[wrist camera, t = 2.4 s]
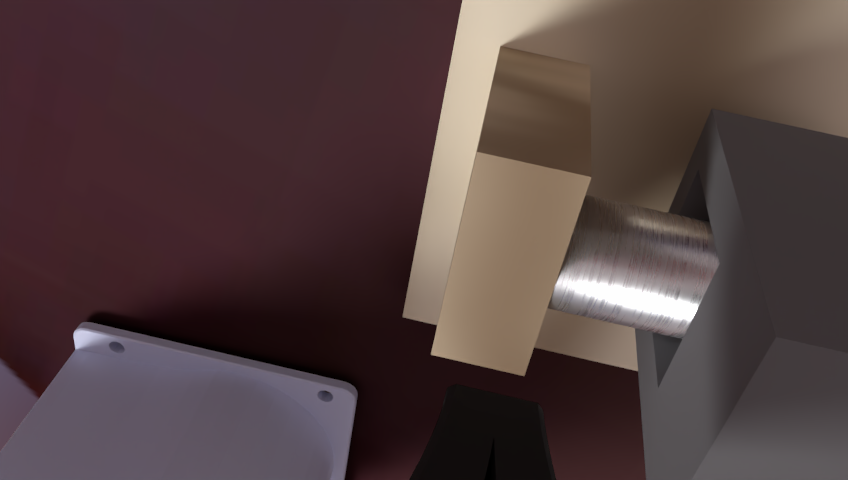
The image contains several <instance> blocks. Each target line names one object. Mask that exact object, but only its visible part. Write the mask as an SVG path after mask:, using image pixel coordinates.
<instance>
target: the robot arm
mask: <svg viewBox="0 0 848 480" xmlns="http://www.w3.org/2000/svg"><path fill="white" fill-rule="evenodd" d="M74 343H75V349H76V350H75V351H74V352H73V354H72V355H71V356H70V358H69V359H68V360H67V362H66V363H65V364H64V366H63V367H62V369H61V370H60V371H59V373H58V374H57V375H56V377H55V378H54V379H53V381H52V382H51V383H50V385H49V386H48V388H47V389H46V390H45V392H44V393H43V394H42V396H41V397H40V398H39V400H38V401H37V402H36V404H35V405H34V407H33V408H32V409H31V411H30V412H29V413H28V415H27V416H26V417H25V419H24V420H23V421H22V423H21V424H20V426H19V427H18V428H17V430H16V431H15V432H14V434H13V435H12V436H11V438H10V439H9V440H8V442H7V443H6V445H5V446H4V447H3V449H2V450H1V451H0V480H345V474H346V468H347V461H348V455H349V448H350V442H351V435H352V429H353V423H354V416H355V410H356V403H357V397H358V393H357V390H356V389H355V387H354V386H352V385H351V384H350V383H347V382H345V381H341V380H336V379H332V378H328V377H323V376H319V375H315V374H311V373H306V372H302V371H298V370H293V369H289V368H285V367H281V366H276V365H272V364H268V363H263V362H259V361H255V360H251V359H246V358H242V357H238V356H233V355H229V354H225V353H221V352H216V351H212V350H208V349H203V348H199V347H195V346H191V345H186V344H182V343H178V342H173V341H169V340H165V339H160V338H156V337H152V336H148V335H143V334H139V333H135V332H130V331H126V330H122V329H118V328H113V327H109V326H105V325H100V324H96V323H92V322H84V323H81V324H80V325H79V326H78V328H77V329H76V330H75V332H74ZM325 391H328V392H330V393H327V392H325ZM409 480H556V478H555V474H554V469H553V465H552V461H551V456H550V451H549V446H548V441H547V435H546V429H545V423H544V415H543V410H542V408H541V407H540V406H539V404H538V403H535V402H531V401H526V400H522V399H518V398H513V397H509V396H505V395H501V394H496V393H492V392H488V391H483V390H479V389H475V388H471V387H466V386H462V385H458V384H456V385H453V386H450V387H448V388H447V391H446V395H445V399H444V403H443V407H442V410H441V413H440V416H439V419H438V421H437V424H436V426H435V429H434V431H433V434H432V436H431V438H430V440H429V442H428V444H427V447H426V449H425V451H424V453H423V455H422V457H421V459H420V461H419V463H418V465H417V467H416V468H415V470H414V472H413V474H412V476H411V478H410V479H409Z"/></svg>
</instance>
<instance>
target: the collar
mask: <svg viewBox="0 0 848 480" xmlns="http://www.w3.org/2000/svg"><path fill="white" fill-rule="evenodd" d="M668 213H671V214H676V215H680V216H685V217H689V218H694V219H698V220H703V221H707V222H710V224H711V228H712V233H713V237H714V242H715V246H716V250H717V255H718V259H719V266H718V268H717V270H716V272H715V274H714V276H713V278H712V280H711V282H710V284H709V286H708V288H707V290H706V292H705V294H704V296H703V298H702V300H701V302H700V305H699V307H698V309H697V311H696V313H695V315H694V317H693V319H692V321H691V323H690V325H689V327H688V329H687V331H686V333H685V335H684V337H683V339H680V338H676V337H672V336H667V335H663V334H658V333H654V332H650V331H645V330H641V329H636V328H635V336H636V350H637V363H638V377H639V390H640V403H641V417H642V430H643V443H644V457H645V470H646V480H848V138H846V137H841V136H837V135H832V134H827V133H823V132H818V131H814V130H809V129H804V128H800V127H795V126H790V125H786V124H781V123H777V122H772V121H767V120H763V119H758V118H753V117H749V116H744V115H740V114H735V113H730V112H726V111H721V110H716V109H711V111H710V113H709V116H708V118H707V121H706V123H705V125H704V128H703V130H702V132H701V135H700V137H699V140H698V142H697V144H696V147H695V149H694V151H693V154H692V156H691V159H690V161H689V163H688V166H687V168H686V170H685V173H684V175H683V178H682V180H681V182H680V185H679V187H678V189H677V192H676V194H675V197H674V199H673V201H672V204H671V206H670V208H669V211H668Z"/></svg>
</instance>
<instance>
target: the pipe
mask: <svg viewBox="0 0 848 480" xmlns="http://www.w3.org/2000/svg"><path fill="white" fill-rule="evenodd" d="M718 266H719V259H718V255H717V250H716V246H715V242H714V237H713V233H712V228H711V224H710V222H707V221H703V220H698V219H694V218H689V217H685V216H680V215H676V214H671V213H667V212H662V211H658V210H653V209H649V208H644V207H640V206H635V205H631V204H626V203H622V202H617V201H613V200H608V199H604V198H599V197H595V196H590V195H585V198H584V201H583V204H582V207H581V210H580V213H579V216H578V219H577V222H576V225H575V228H574V230H573V233H572V236H571V239H570V242H569V245H568V248H567V251H566V254H565V257H564V260H563V263H562V266H561V269H560V272H559V275H558V278H557V281H556V284H555V287H554V290H553V293H552V296H551V299H550V302H549V304H548V307H547V308H549V309H553V310H557V311H562V312H566V313H571V314H575V315H579V316H584V317H588V318H593V319H597V320H601V321H606V322H610V323H615V324H619V325H623V326H628V327H632V328H636V329H641V330H645V331H650V332H654V333H658V334H663V335H667V336H672V337H676V338H680V339H683V337H684V335H685V333H686V331H687V329H688V327H689V325H690V323H691V321H692V319H693V317H694V315H695V313H696V311H697V309H698V307H699V305H700V302H701V300H702V298H703V296H704V294H705V292H706V290H707V288H708V286H709V284H710V282H711V280H712V278H713V276H714V274H715V272H716V270H717V268H718Z"/></svg>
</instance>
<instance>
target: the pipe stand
mask: <svg viewBox="0 0 848 480" xmlns="http://www.w3.org/2000/svg"><path fill="white" fill-rule="evenodd" d="M711 109H716V110H721V111H726V112H730V113H735V114H740V115H744V116H749V117H753V118H758V119H763V120H767V121H772V122H777V123H781V124H786V125H790V126H795V127H800V128H804V129H809V130H814V131H818V132H823V133H827V134H832V135H837V136H841V137H846V138H848V0H462V6H461V11H460V16H459V22H458V27H457V32H456V37H455V43H454V48H453V53H452V58H451V64H450V69H449V74H448V80H447V85H446V90H445V95H444V101H443V106H442V111H441V116H440V122H439V127H438V132H437V138H436V143H435V148H434V153H433V159H432V164H431V169H430V174H429V180H428V185H427V190H426V196H425V201H424V206H423V211H422V217H421V222H420V227H419V232H418V238H417V243H416V248H415V254H414V259H413V264H412V269H411V275H410V280H409V285H408V290H407V296H406V301H405V306H404V312H403V317H404V318H408V319H412V320H417V321H421V322H425V323H430V324H434V325H437V329H436V333H435V338H434V342H433V347H432V351H431V355H434V356H439V357H443V358H447V359H452V360H456V361H460V362H465V363H469V364H473V365H478V366H482V367H486V368H491V369H495V370H499V371H504V372H508V373H512V374H517V375H521V376H525V373H526V370H527V367H528V364H529V361H530V358H531V355H532V352H533V349H534V348H539V349H543V350H547V351H552V352H556V353H560V354H565V355H569V356H573V357H578V358H582V359H587V360H591V361H595V362H600V363H604V364H608V365H613V366H617V367H621V368H626V369H630V370H634V371H638V363H637V350H636V336H635V328H632V327H628V326H623V325H619V324H615V323H610V322H606V321H601V320H597V319H593V318H588V317H584V316H579V315H575V314H571V313H566V312H562V311H557V310H553V309H549V308H547V307H548V304H549V302H550V299H551V296H552V293H553V290H554V287H555V284H556V281H557V278H558V275H559V272H560V269H561V266H562V263H563V260H564V257H565V254H566V251H567V248H568V245H569V242H570V239H571V236H572V233H573V230H574V228H575V225H576V222H577V219H578V216H579V213H580V210H581V207H582V204H583V201H584V198H585V195H590V196H595V197H599V198H604V199H608V200H613V201H617V202H622V203H626V204H631V205H635V206H640V207H644V208H649V209H653V210H658V211H662V212H667V213H668V211H669V208H670V206H671V204H672V201H673V199H674V197H675V194H676V192H677V189H678V187H679V185H680V182H681V180H682V178H683V175H684V173H685V170H686V168H687V166H688V163H689V161H690V159H691V156H692V154H693V151H694V149H695V147H696V144H697V142H698V140H699V137H700V135H701V132H702V130H703V128H704V125H705V123H706V121H707V118H708V116H709V113H710V111H711Z"/></svg>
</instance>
